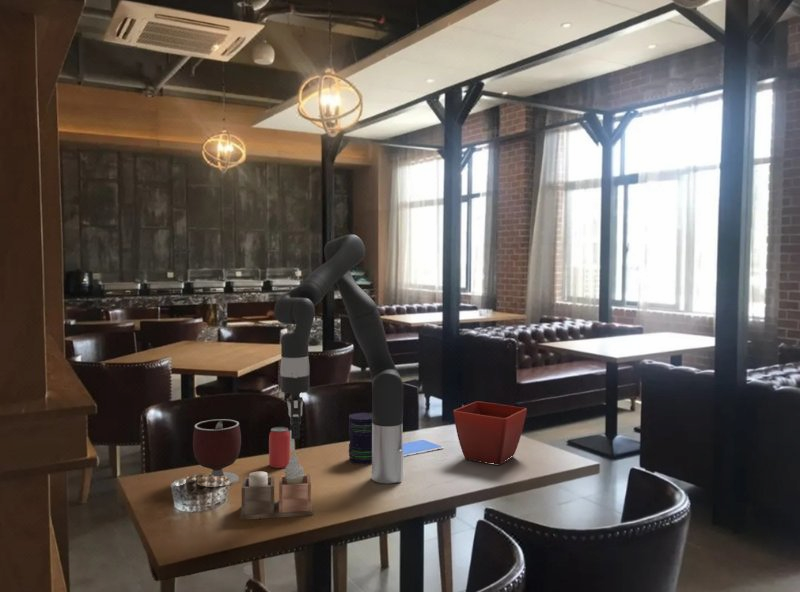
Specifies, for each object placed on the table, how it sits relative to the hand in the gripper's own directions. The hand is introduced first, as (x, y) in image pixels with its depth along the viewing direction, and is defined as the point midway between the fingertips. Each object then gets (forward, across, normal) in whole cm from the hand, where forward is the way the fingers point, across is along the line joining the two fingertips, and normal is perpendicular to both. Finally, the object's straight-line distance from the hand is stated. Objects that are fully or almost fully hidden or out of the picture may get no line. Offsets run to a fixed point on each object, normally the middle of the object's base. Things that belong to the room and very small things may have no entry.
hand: (295, 434), depth 171 cm
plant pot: (+21, -35, +66) cm, 77 cm away
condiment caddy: (+20, 0, -5) cm, 21 cm away
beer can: (+20, -39, -4) cm, 44 cm away
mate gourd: (+20, -26, -22) cm, 40 cm away
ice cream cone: (+19, 0, 0) cm, 19 cm away
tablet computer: (+21, -50, +42) cm, 69 cm away
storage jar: (+20, -40, +24) cm, 51 cm away
